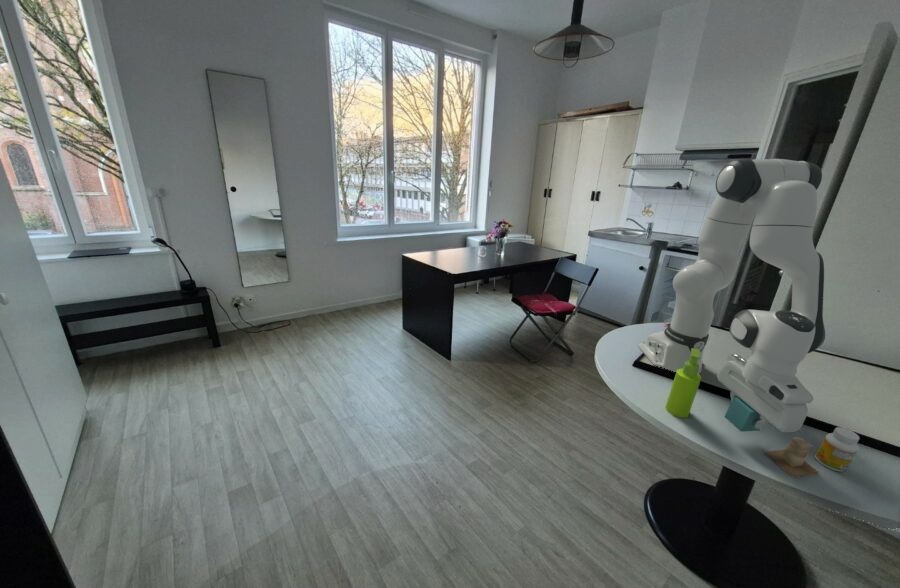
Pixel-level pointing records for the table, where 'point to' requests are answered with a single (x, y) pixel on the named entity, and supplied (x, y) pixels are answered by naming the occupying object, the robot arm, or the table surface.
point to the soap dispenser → (684, 387)
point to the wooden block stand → (794, 458)
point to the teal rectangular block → (742, 415)
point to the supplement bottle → (838, 449)
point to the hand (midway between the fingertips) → (744, 417)
